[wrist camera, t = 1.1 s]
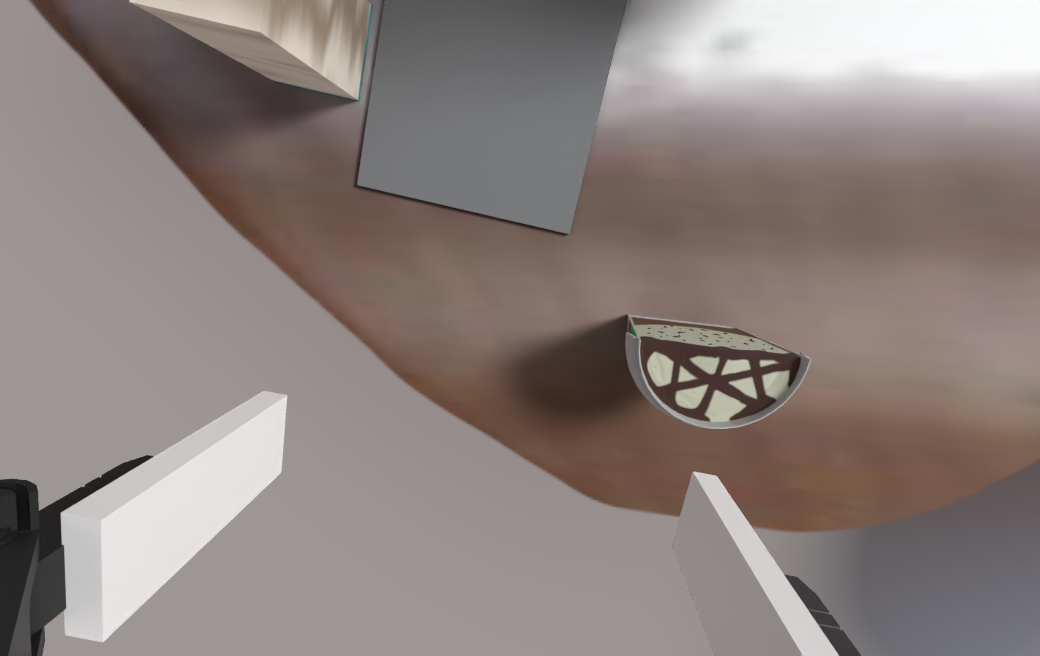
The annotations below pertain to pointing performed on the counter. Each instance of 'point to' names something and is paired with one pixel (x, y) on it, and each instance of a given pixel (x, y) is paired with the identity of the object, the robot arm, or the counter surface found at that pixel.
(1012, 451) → the counter surface
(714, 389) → the food container
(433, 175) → the mat
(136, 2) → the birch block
